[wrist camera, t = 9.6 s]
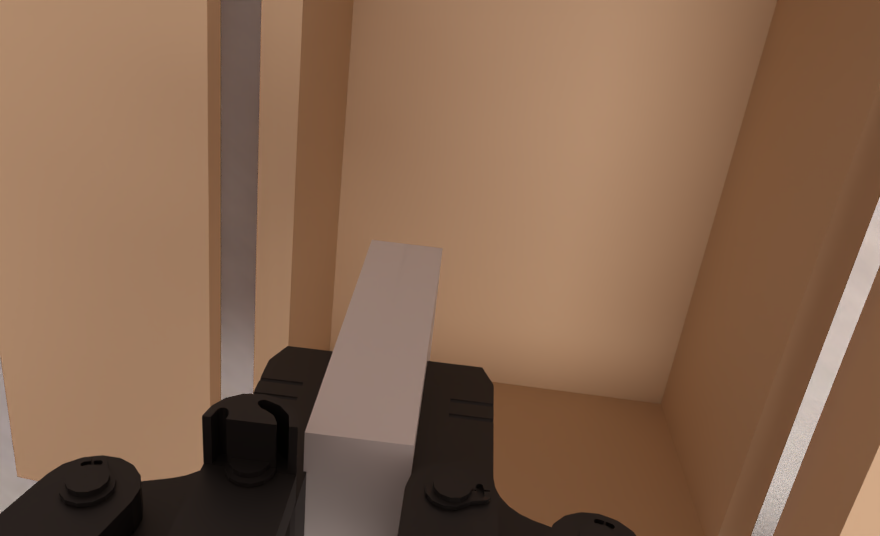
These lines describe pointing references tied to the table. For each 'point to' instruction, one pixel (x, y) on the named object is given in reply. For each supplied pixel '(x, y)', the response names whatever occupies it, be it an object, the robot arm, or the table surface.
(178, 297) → the flap
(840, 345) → the table surface
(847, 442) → the flap
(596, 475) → the carton
